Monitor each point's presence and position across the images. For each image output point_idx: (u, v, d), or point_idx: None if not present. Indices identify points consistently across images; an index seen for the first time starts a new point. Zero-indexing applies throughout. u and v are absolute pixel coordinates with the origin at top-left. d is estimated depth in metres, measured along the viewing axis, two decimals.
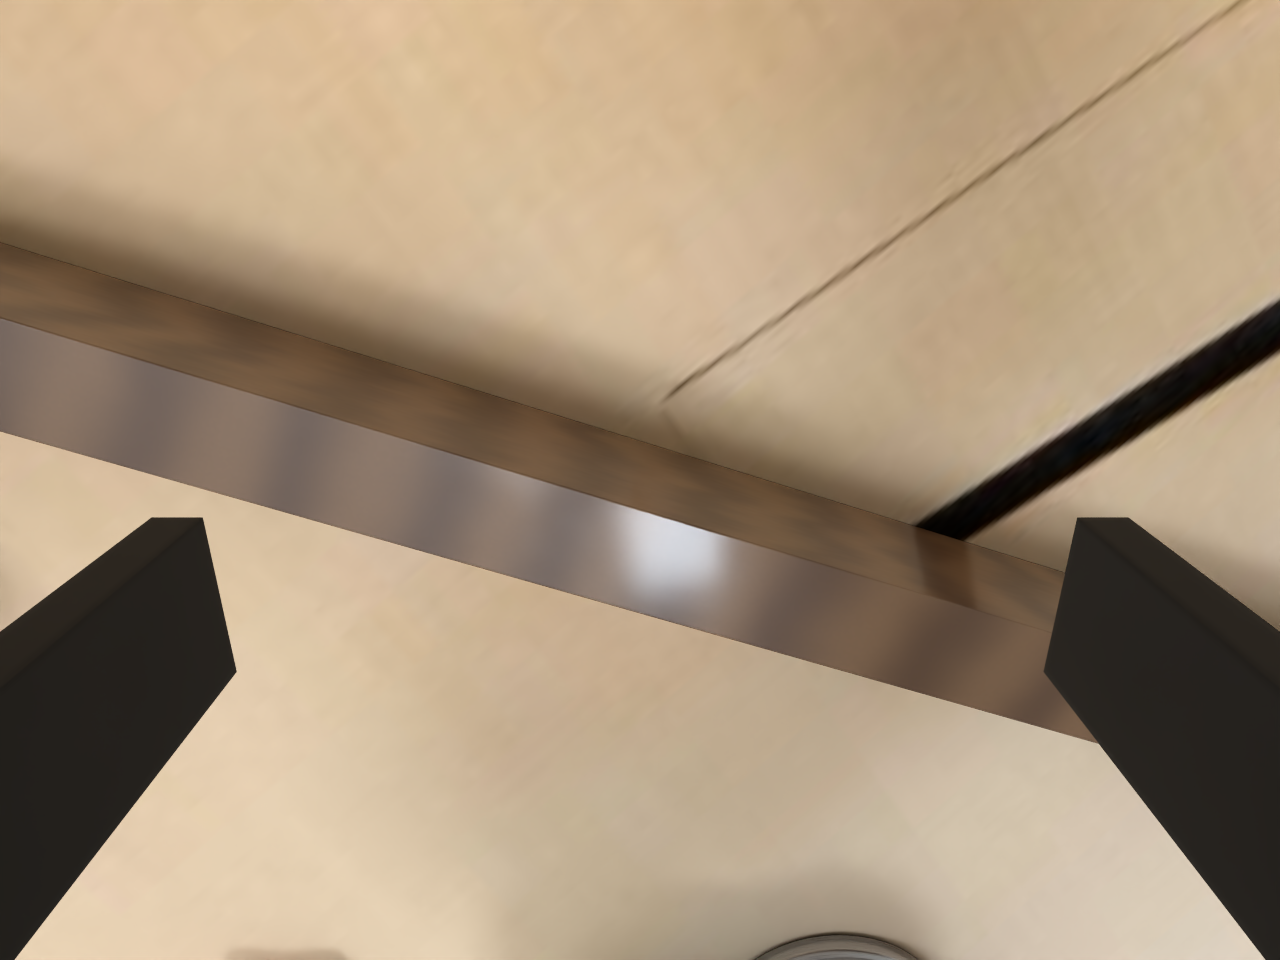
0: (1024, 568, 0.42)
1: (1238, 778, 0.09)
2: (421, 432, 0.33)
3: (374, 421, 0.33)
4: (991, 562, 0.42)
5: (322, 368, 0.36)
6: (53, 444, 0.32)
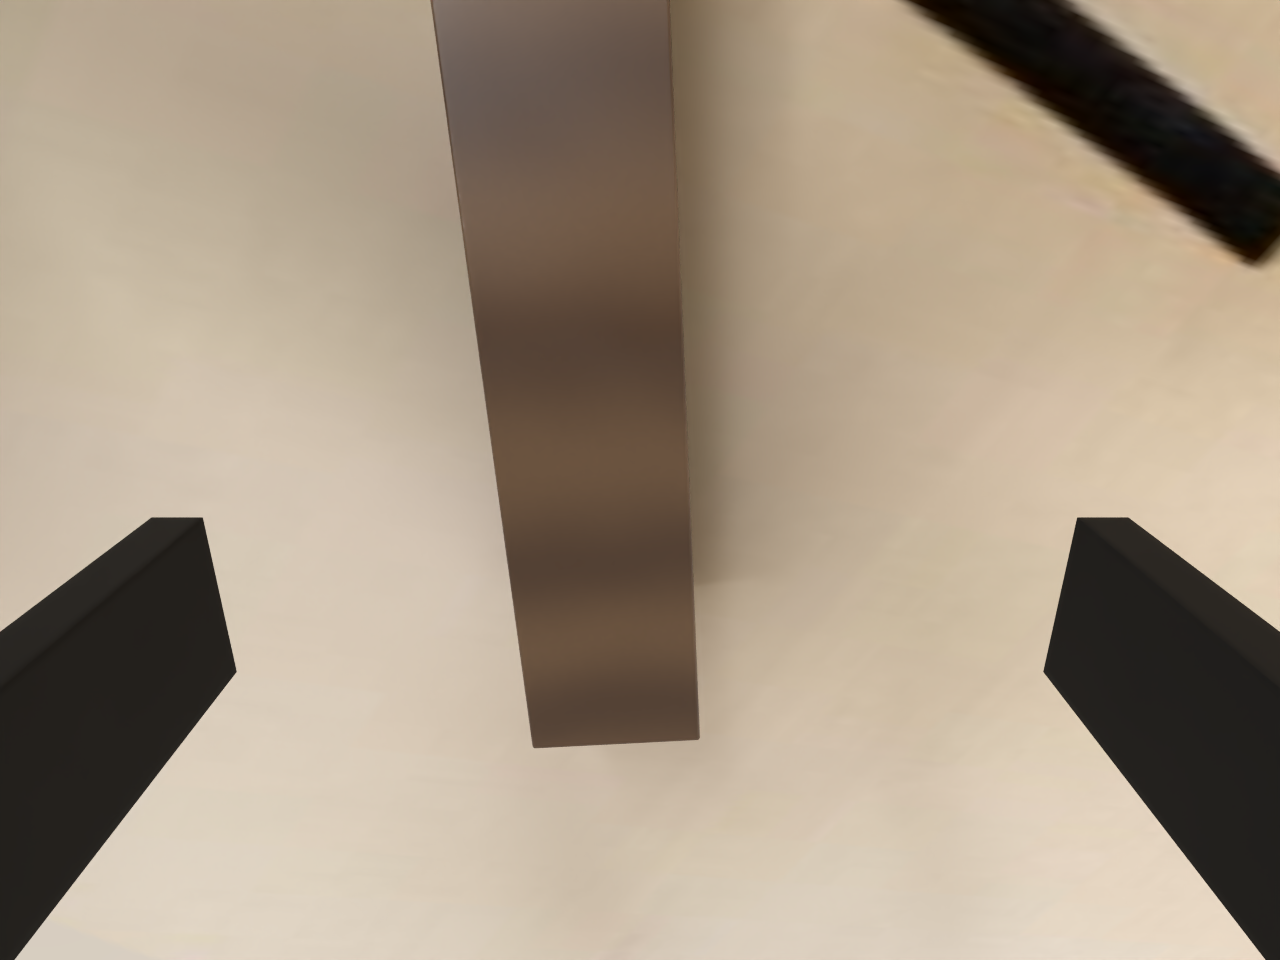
0: None
1: (1238, 778, 0.09)
2: None
3: None
4: None
5: None
6: None
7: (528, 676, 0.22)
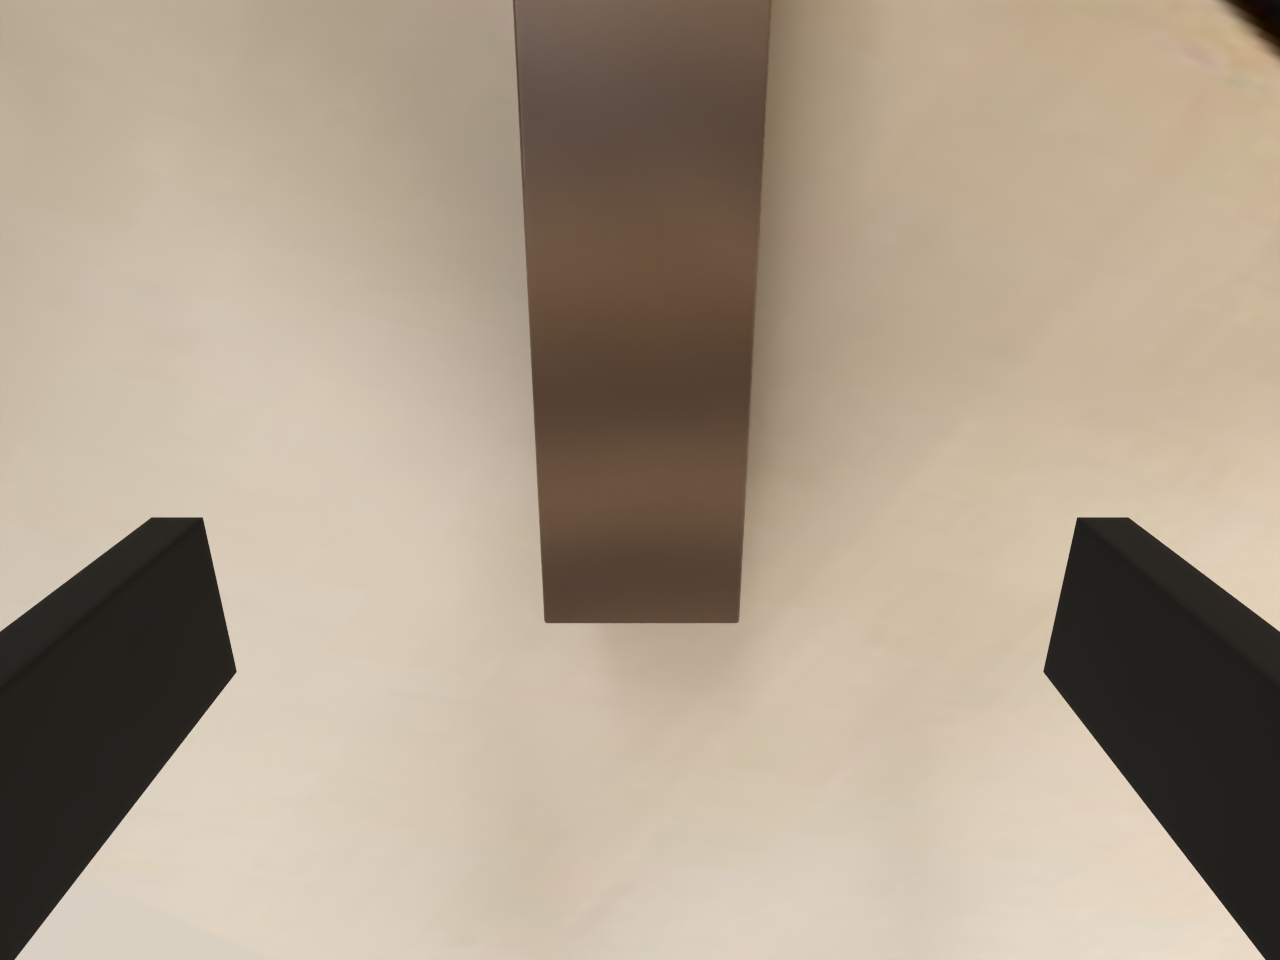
0: None
1: (1239, 777, 0.09)
2: None
3: None
4: None
5: None
6: None
7: (546, 532, 0.19)
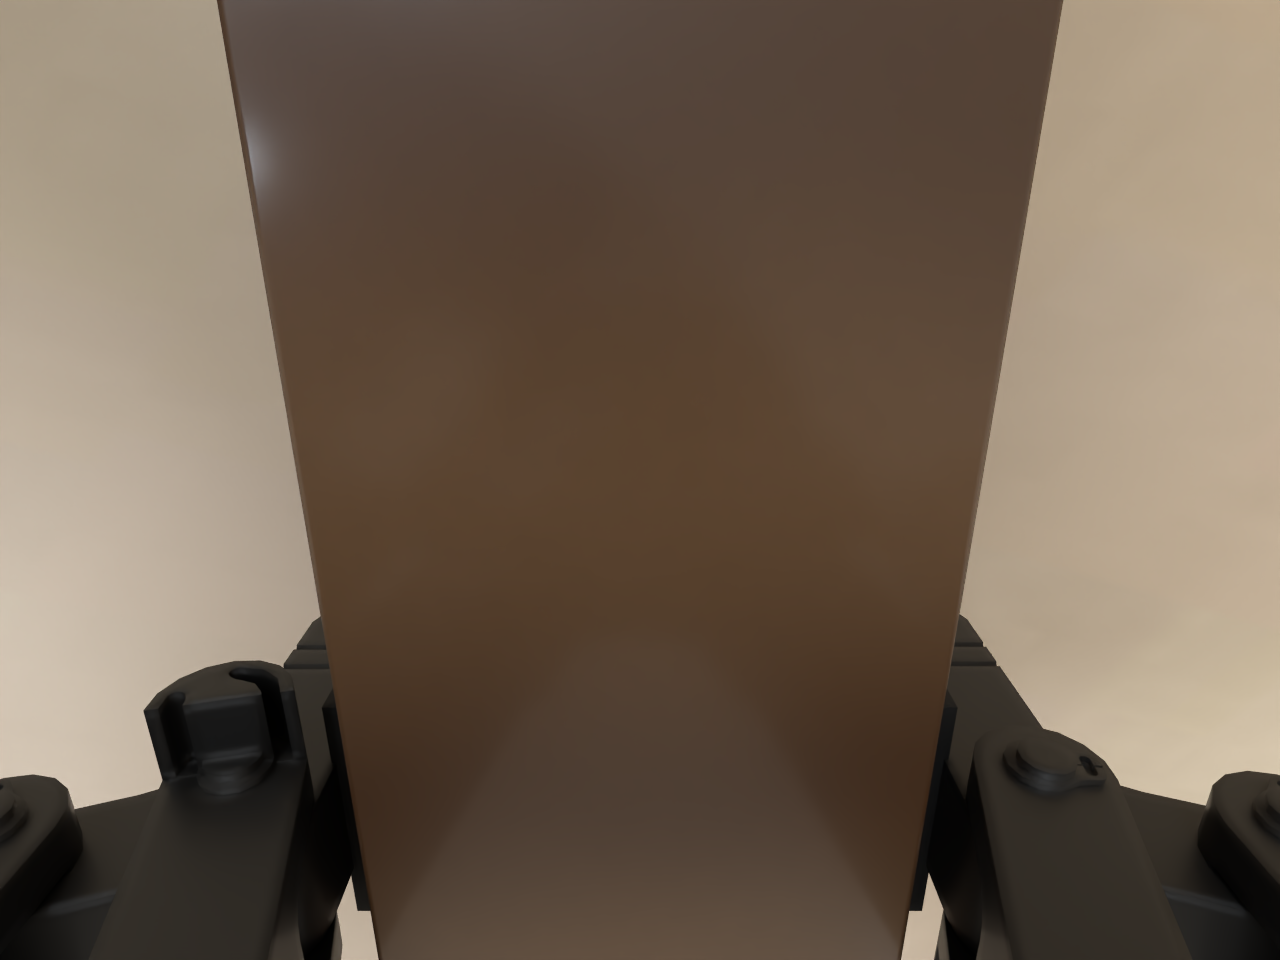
0: None
1: None
2: None
3: None
4: None
5: None
6: None
7: None
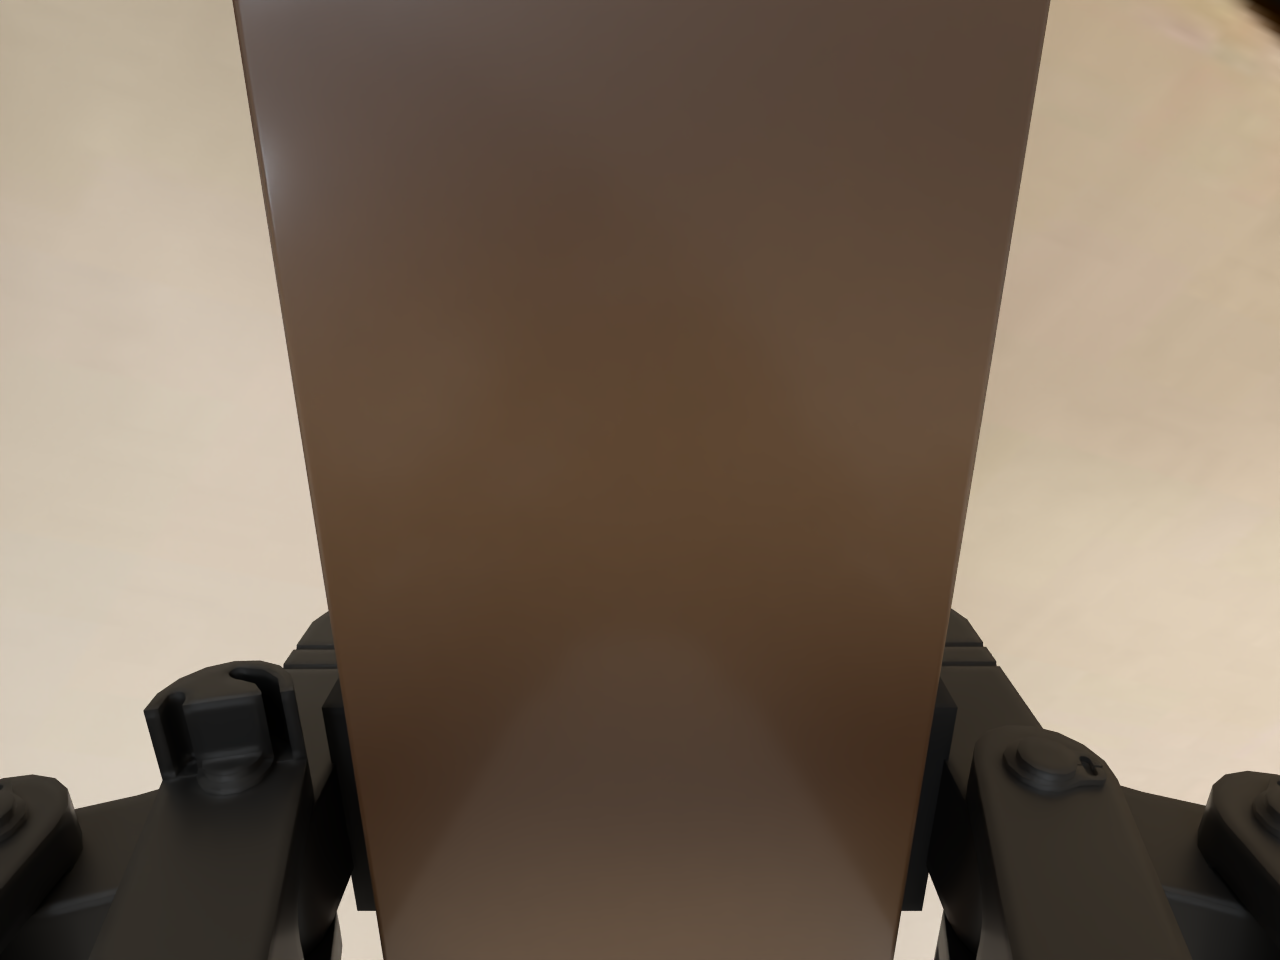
0: None
1: None
2: None
3: None
4: None
5: None
6: None
7: None
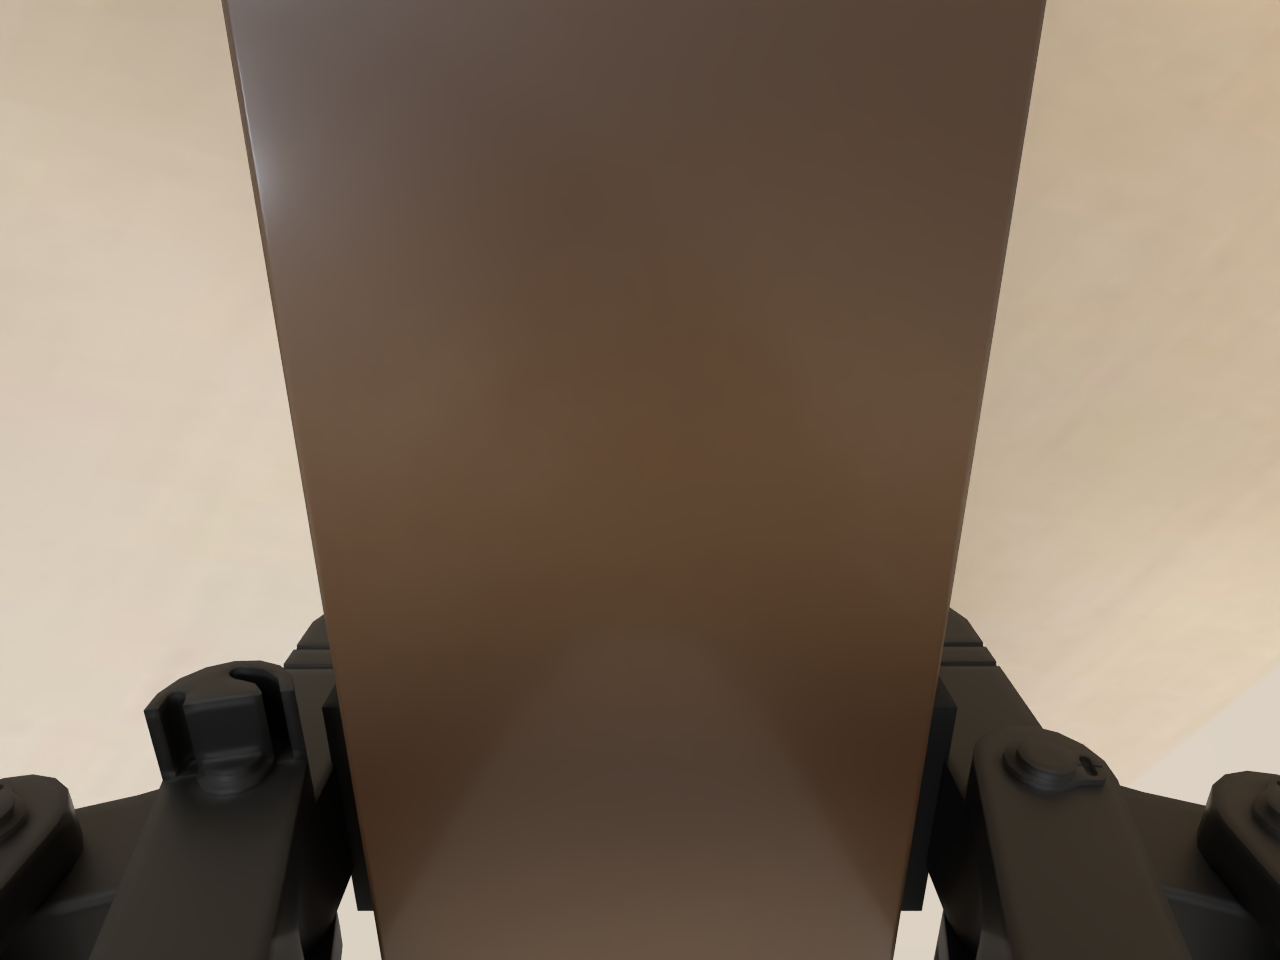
0: None
1: None
2: None
3: None
4: None
5: None
6: None
7: None
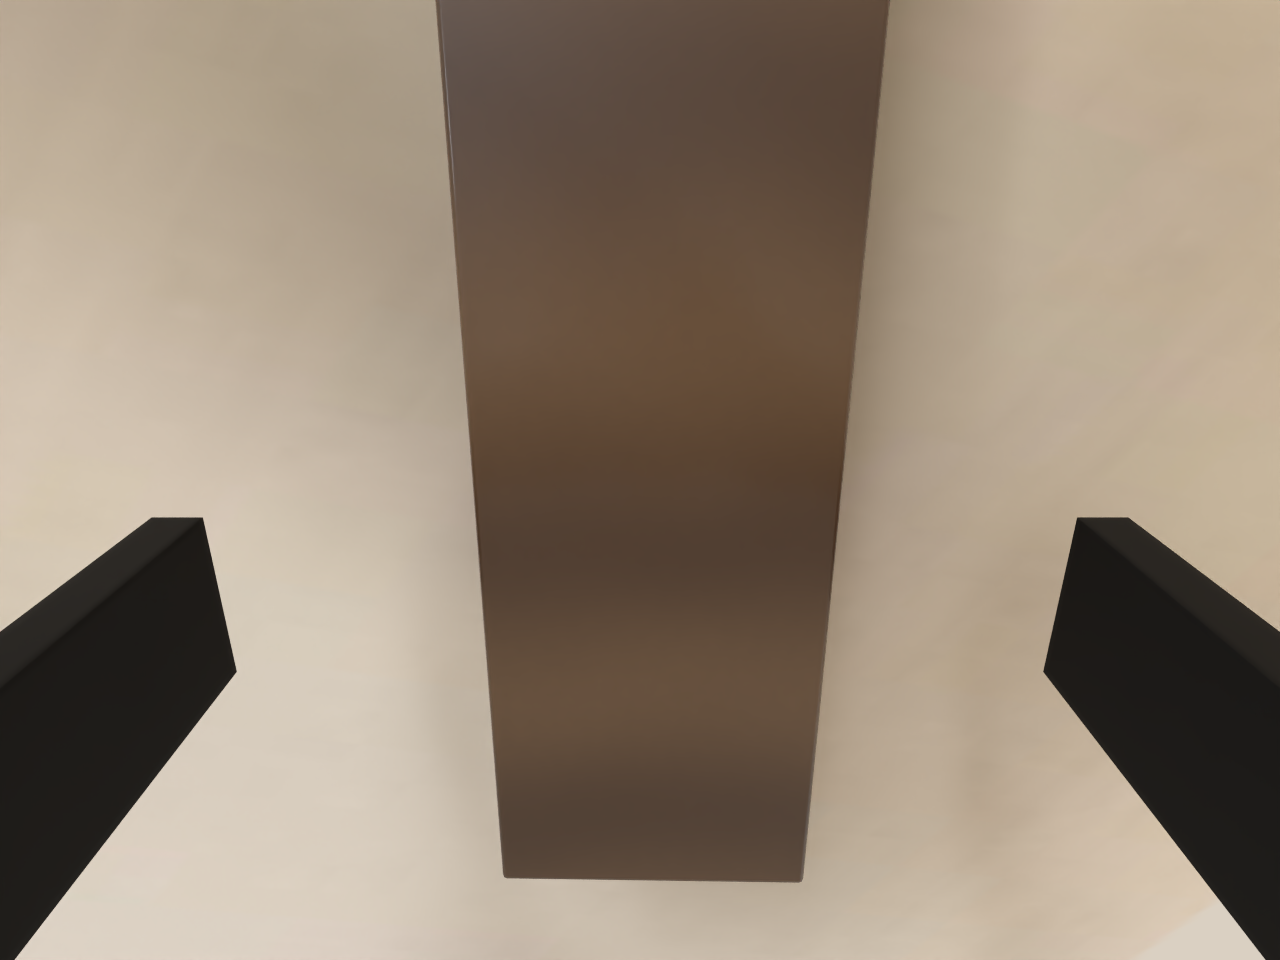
0: None
1: (1238, 778, 0.09)
2: None
3: None
4: None
5: None
6: None
7: (504, 753, 0.12)
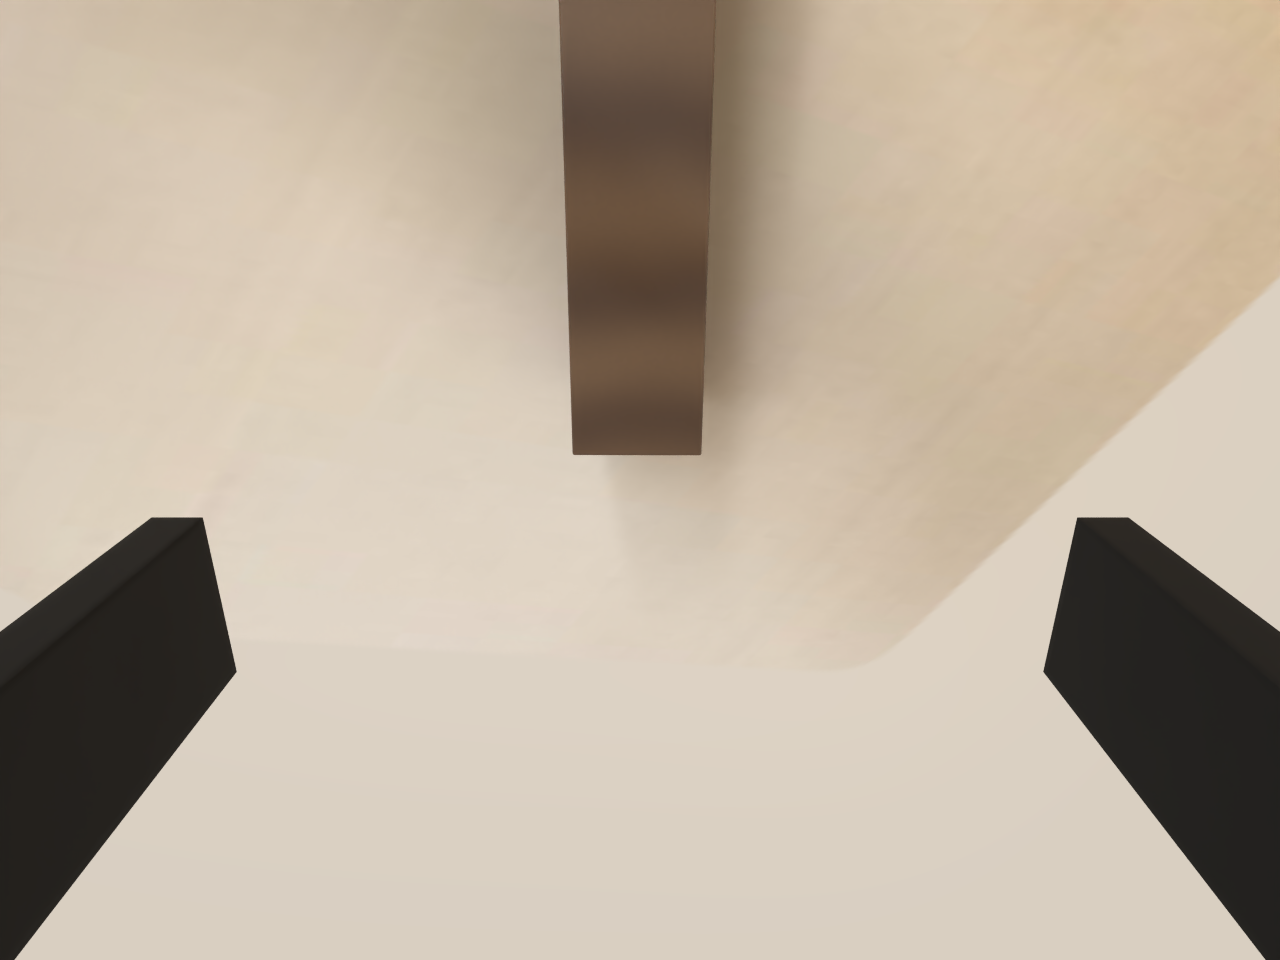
0: None
1: (1239, 778, 0.09)
2: None
3: None
4: None
5: None
6: None
7: (575, 390, 0.29)
